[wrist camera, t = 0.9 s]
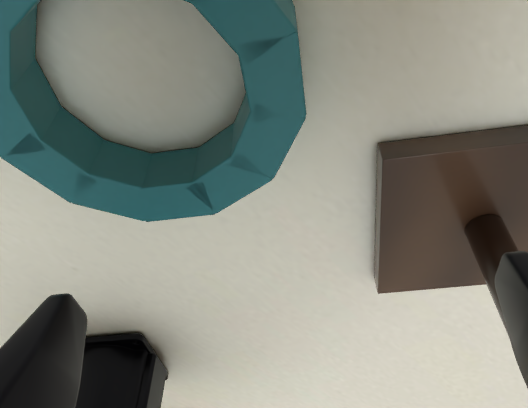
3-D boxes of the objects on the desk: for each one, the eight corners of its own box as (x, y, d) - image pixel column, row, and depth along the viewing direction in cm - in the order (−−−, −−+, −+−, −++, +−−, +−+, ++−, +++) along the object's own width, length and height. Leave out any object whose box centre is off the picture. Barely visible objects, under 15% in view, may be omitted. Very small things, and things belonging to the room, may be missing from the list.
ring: (69, 196, 22) (53, 232, 21) (-104, -80, 14) (-155, -59, 12) (311, 167, 21) (315, 204, 19) (277, -155, 13) (279, -143, 11)
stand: (374, 277, 27) (402, 408, 21) (377, 143, 20) (420, 286, 15) (551, 261, 26) (628, 395, 20) (619, 113, 19) (764, 256, 13)
